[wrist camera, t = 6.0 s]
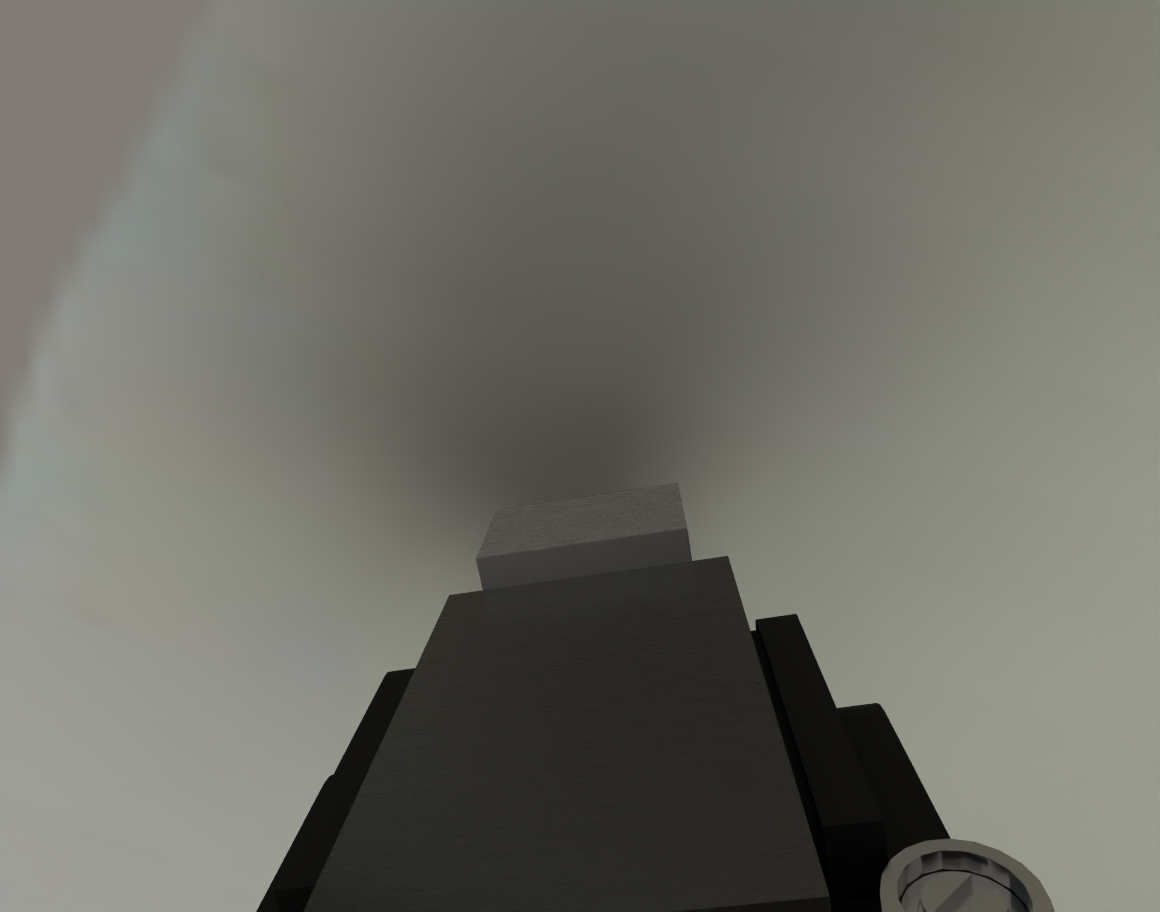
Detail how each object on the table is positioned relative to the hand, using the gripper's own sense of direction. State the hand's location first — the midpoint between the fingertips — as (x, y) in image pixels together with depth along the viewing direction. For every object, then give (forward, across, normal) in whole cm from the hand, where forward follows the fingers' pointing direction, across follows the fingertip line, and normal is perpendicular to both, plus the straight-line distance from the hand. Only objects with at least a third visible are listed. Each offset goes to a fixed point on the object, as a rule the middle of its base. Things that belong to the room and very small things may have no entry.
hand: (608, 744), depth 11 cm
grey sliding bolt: (+3, 0, +9) cm, 9 cm away
